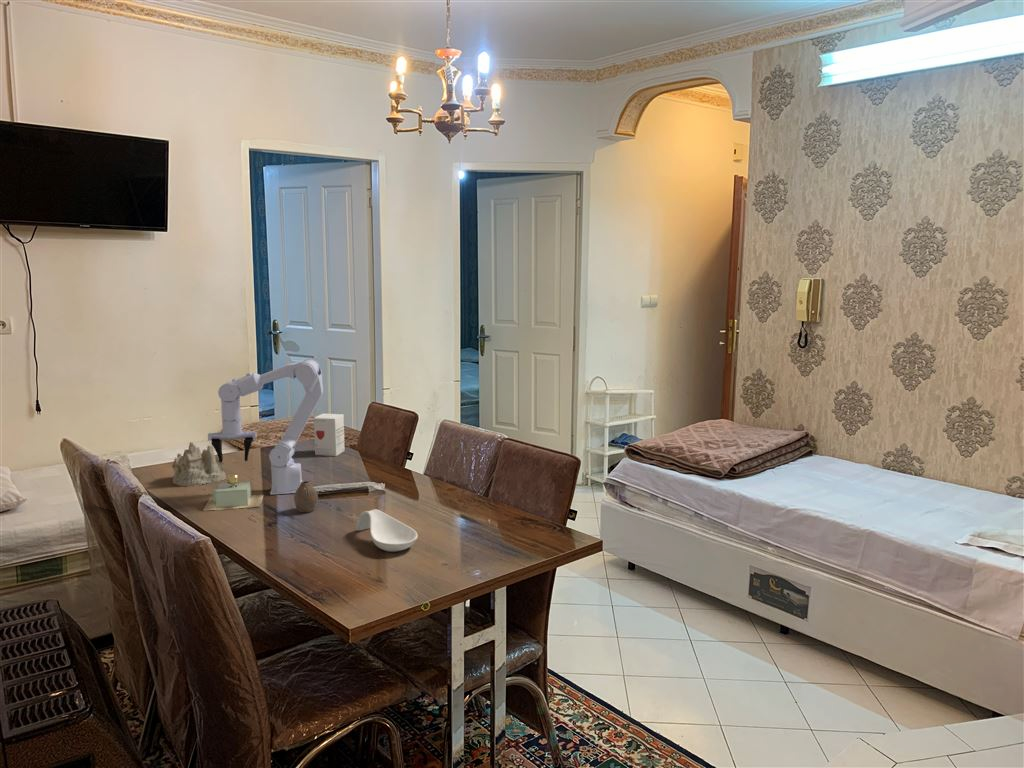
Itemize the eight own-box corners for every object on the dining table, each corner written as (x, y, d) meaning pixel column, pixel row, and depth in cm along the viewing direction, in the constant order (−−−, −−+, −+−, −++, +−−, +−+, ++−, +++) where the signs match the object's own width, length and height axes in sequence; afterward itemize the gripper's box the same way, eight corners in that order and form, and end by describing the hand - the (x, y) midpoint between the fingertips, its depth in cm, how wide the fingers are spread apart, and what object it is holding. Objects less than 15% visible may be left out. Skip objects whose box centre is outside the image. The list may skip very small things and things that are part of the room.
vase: (311, 514, 219) (310, 485, 218) (290, 513, 220) (288, 484, 219) (322, 507, 226) (321, 479, 224) (301, 506, 227) (300, 478, 226)
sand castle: (230, 480, 254) (225, 437, 252) (179, 490, 244) (173, 446, 243) (218, 473, 266) (212, 432, 265) (168, 482, 257) (163, 440, 255)
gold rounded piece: (246, 497, 233) (245, 471, 232) (244, 503, 227) (242, 477, 226) (224, 498, 232) (222, 472, 231) (221, 505, 226) (219, 478, 224)
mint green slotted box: (251, 496, 235) (250, 481, 234) (247, 505, 226) (247, 489, 225) (216, 498, 233) (215, 483, 232) (211, 507, 224) (210, 491, 223)
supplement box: (314, 455, 288) (312, 417, 286) (323, 450, 297) (322, 413, 294) (336, 456, 287) (335, 418, 284) (345, 450, 295) (344, 413, 293)
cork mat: (263, 495, 237) (263, 494, 237) (259, 507, 226) (259, 506, 226) (210, 499, 234) (210, 498, 234) (203, 511, 222) (203, 509, 222)
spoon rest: (426, 549, 192) (425, 522, 191) (386, 560, 185) (385, 533, 184) (380, 525, 210) (379, 500, 209) (342, 534, 203) (341, 509, 202)
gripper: (205, 422, 232) (207, 465, 234) (254, 421, 235) (256, 462, 237) (209, 418, 239) (211, 459, 241) (256, 416, 242) (258, 457, 244)
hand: (233, 460), depth 239 cm, fingers open, 7 cm apart
